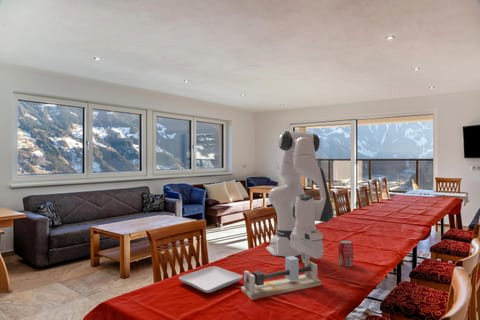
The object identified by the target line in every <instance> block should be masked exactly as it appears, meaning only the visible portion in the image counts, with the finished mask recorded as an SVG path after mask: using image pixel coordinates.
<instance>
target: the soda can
mask: <svg viewBox="0 0 480 320" xmlns="http://www.w3.org/2000/svg"><path fill="white" fill-rule="evenodd" d="M338 264H339V265H340V266H342V267H344V268H346V267H347V268H349V267H351V266H353V265H354V246H353V242H352V241H350V240H348V239H347V240H344V239H342V240H340V241H339V243H338Z"/></svg>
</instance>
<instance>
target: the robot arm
mask: <svg viewBox="0 0 480 320" xmlns="http://www.w3.org/2000/svg"><path fill="white" fill-rule="evenodd" d="M320 144H321V139H320V137H319V136H318V135H317V134H315V133H309V132H304V131H288V130H287V131H286V130H285V131H282V132H281V133H280V134H279V137H278V147H279V149H280V150H282V151H283V154H282V159H281V165H280V176H281V177H282V179H283V183H284V185H281V186H276V187H273V188H272V189H270V191H269V192H268V200H269V203H270V204H271V205H272V206H273V207H274V210H275V212H276V219H277V228H275V234H274V235H273V237H271V238H270V240H269V245H268V246H266V247H265V249H266V251H268V252H269V253H270V254H271V255H272V256H276V257H277V256H280V257H284V258H285V257H289V256H294V257H297V256H301V257H300V258H301V262H302V263H303V264H304V265H305V264H309V261H310V259H311V258H313V259H316V260H317V259H322V258H323V257H324V243H323V239H324V235H323V233H322V232H320V231H319V229H317V227H316V223H315V222H320V223H328V222H330V221H331V220H332V219H333V218H334V215H335V210H334V205H333V204H332V201H331V197H330V193H329V187H328V183H327V179H326V176H325V172H324V170H323V168H322V167H320V166H319V165H318V163H317V159H316V153H317V152H318V150H319V148H320ZM301 177H304V178H307V179H310V180H311V181H313V182H315V183H316V184H317V186H318V192H319V195H320V199H318V200H317V199H314V196H313V195H311V194H308V193H307V194H305V193H306V192H305V189H304V188H303V187H302V185H301Z"/></svg>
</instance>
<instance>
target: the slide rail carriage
mask: <svg viewBox="0 0 480 320" xmlns="http://www.w3.org/2000/svg"><path fill="white" fill-rule="evenodd" d="M299 260H300V259H299V258H298V257H297V256H289V257H285V256H284V261H285V263H284V265H285V267H284V268H285V269H284V270H289V272H290V275H286V276H284V278H287V279H288V280H290V281H294V280H299V275H300V273H299V268H300V266H299V264H300V262H299Z"/></svg>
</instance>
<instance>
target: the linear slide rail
mask: <svg viewBox="0 0 480 320" xmlns="http://www.w3.org/2000/svg"><path fill="white" fill-rule="evenodd" d="M300 273H304V274H300ZM286 275H290V272H289V270H285V269H284V270H279V271H275V272H269V273H268V272H267V273H263V272H262V271H260V270H253V271H252V273H251V272H250V271H249V270H243V286H240V291H241V292H243V294H245V295H246V296H247V297H248V298H249V299H250V300H252V301H253V300H257V299H261V298H265V297H266V298H267V297H270V296H275V295H279V294H285V293H291V292H294V291H298V290H299V291H300V290H304V289H308V288H312V287H313V288H314V287H318V286H322V285H323V284H322V282H323V281H322V280H321V279H319V278H318V264H316V263H314V262H313V261H310V260H309V264H305V263H304V266H302V267H299V280H294V281H290V280H288V279H287V278H285V276H286ZM279 277H284V278H279ZM275 278H279V279H275ZM269 279H275V280H269ZM265 280H267V281H265Z"/></svg>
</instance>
